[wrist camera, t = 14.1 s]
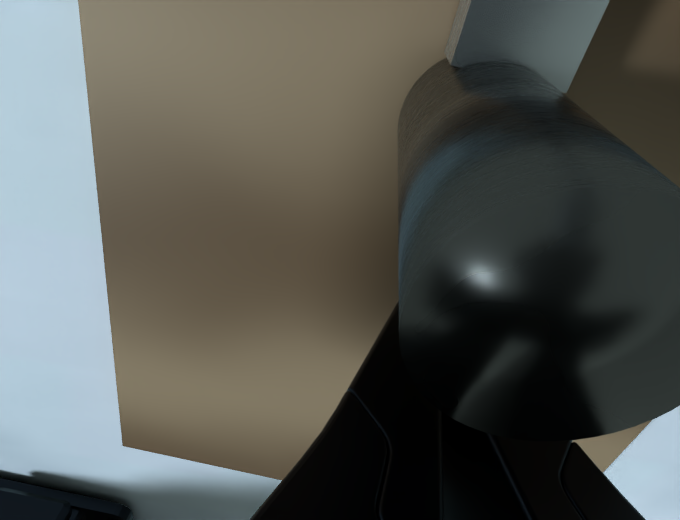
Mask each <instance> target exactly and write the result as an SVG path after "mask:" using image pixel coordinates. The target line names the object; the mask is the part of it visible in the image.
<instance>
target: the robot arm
mask: <svg viewBox="0 0 680 520" xmlns="http://www.w3.org/2000/svg"><path fill="white" fill-rule="evenodd" d="M572 441H573V440H567V441H529V440H518V439H512V438H506V437H501V436H497V435H493V434H489V433H486V432H482V431H479V430H477V429H474V428H471V427H469V426H466V425H464V424H462V423H460V422H458V421H456V420H454V419H452V418H451V417H449V416H448V415H446V414H445V413H443V412H442V411H440V410H439V409H437V408H436V407H435V406H434V405H433V404H432V403H430V402H429V401H428V400H427V399H426V398H425V397H424V396H423V395H422V393H421V392H420V391H419V390H418V389H417V387H416V386H415V384H414V383H413V381H412V380H411V378H410V377H409V375H408V372H407V370H406V368H405V366H404V363H403V359H402V355H401V351H400V343H399V300H398V302H397V304H396V306H395V307H394V309H393V311H392V313H391V314H390V316H389V318H388V320H387V321H386V323H385V325H384V326H383V328H382V330H381V332H380V333H379V335H378V337H377V339H376V340H375V342H374V344H373V346H372V347H371V349H370V351H369V353H368V354H367V356H366V358H365V359H364V361H363V363H362V365H361V366H360V368H359V370H358V372H357V373H356V375H355V377H354V379H353V380H352V382H351V384H350V386H349V387H348V389H347V392H345V394H344V395H343V397H342V399H341V401H340V402H339V404H338V406H337V408H336V409H335V411H334V412H333V414H332V415H331V417H330V419H329V420H328V422H327V423H326V425H325V426H324V428H323V429H322V431H321V432H320V434H319V435H318V436H317V438H316V439H315V440H314V442H313V443H312V444H311V445H310V447H309V448H308V449H307V451H306V452H305V453H304V455H303V456H302V457H301V459H300V460H299V461H298V462H297V463H296V465H295V466H294V467H293V468H292V469H291V471H290V472H289V473H288V474H287V475H286V477H285V478H284V479H283V480H282V481H281V483H280V484H279V485H278V486H277V488H276V489H275V490H274V491H273V492H272V494H271V495H270V496H269V497H268V498H267V500H266V501H265V502H264V503H263V504H262V506H261V507H260V508H259V509H258V510H257V512H256V513H255V514H254V515H253V516H252V518H251V519H250V520H645V518H644V517H643V516H642V515H641V514H640V513H639V512H638V511H637V510H636V509H635V508H634V507H633V506H632V505H631V504H630V503H629V502H628V500H627V499H626V498H625V497H624V496H623V495H622V494H621V493H620V492H619V491H618V489H617V488H616V487H615V486H614V485H613V484H612V483H611V482H610V480H609V479H608V478H607V477H606V476H605V475H604V474H603V472H602V471H601V470H600V469H599V468H598V467H597V466H596V465H595V463H594V462H593V461H592V460H591V459H590V458H589V456H588V455H587V454H586V453H585V452H584V451H583V449H582V448H581V447H580V446H579V445H578V444H577V443H576V442H572ZM0 520H133V514H132V511H131V510H130V509H129V508H128V507H126V506H125V505H122V504H119V503H115V502H110V501H105V500H101V499H96V498H91V497H86V496H82V495H77V494H72V493H68V492H63V491H58V490H54V489H49V488H44V487H39V486H35V485H30V484H25V483H21V482H16V481H11V480H6V479H2V478H0Z"/></svg>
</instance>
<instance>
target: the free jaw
mask: <svg viewBox="0 0 680 520" xmlns="http://www.w3.org/2000/svg"><path fill="white" fill-rule="evenodd" d="M609 1H610V0H460V3H459V6H458V9H457V12H456V16H455V19H454V22H453V25H452V29H451V32H450V35H449V38H448V41H447V45H446V48H445V51H444V53H445V55H446V58H444V59H443V60H441V61H439V62H437V63H436V64H434V65H433V66H432V67H430V68H429V69H428V70H427V71H426V72H425V73H423V74H422V75H421V76H420V78H419V79H418V80H417V81H416V82H415V83H414V85H413V86H412V88H411V89H410V91H409V92H408V94H407V96H406V98H405V100H404V102H403V105H402V108H401V111H400V115H399V120H398V276H399V343H400V351H401V355H402V359H403V363H404V366H405V368H406V370H407V372H408V375H409V377H410V378H411V380H412V381H413V383H414V384H415V386H416V387H417V389H418V390H419V391H420V392H421V393H422V395H423V396H424V397H425V398H426V399H427V400H428V401H429V402H430V403H432V404H433V405H434V406H435V407H436V408H437V409H439V410H440V411H442V412H443V413H445V414H446V415H448V416H449V417H451V418H452V419H454V420H456V421H458V422H460V423H462V424H464V425H466V426H469V427H471V428H474V429H477V430H479V431H482V432H486V433H489V434H493V435H497V436H501V437H506V438H512V439H518V440H529V441H567V440H578V439H585V438H592V437H597V436H602V435H606V434H611V433H615V432H618V431H622V430H625V429H628V428H632V427H635V426H637V425H640V424H642V423H645V422H647V421H650V420H652V419H655V418H657V417H659V416H661V415H663V414H665V413H667V412H669V411H671V410H673V409H674V408H676V407H678V406H679V405H680V188H679V187H678V186H677V185H676V184H674V183H673V182H672V181H671V180H669V179H668V178H667V177H666V176H665V175H663V174H662V173H661V172H660V171H658V170H657V169H656V168H655V167H653V166H652V165H651V164H650V163H648V162H647V161H646V160H645V159H644V158H642V157H641V156H640V155H639V154H637V153H636V152H635V151H634V150H632V149H631V148H630V147H629V146H628V145H626V144H625V143H624V142H623V141H621V140H620V139H619V138H618V137H616V136H615V135H614V134H613V133H611V132H610V131H609V130H608V129H607V128H605V127H604V126H603V125H602V124H600V123H599V122H598V121H597V120H595V119H594V118H593V117H592V116H590V115H589V114H588V113H587V112H586V111H584V110H583V109H582V108H581V107H579V106H578V105H577V104H576V103H574V102H573V101H572V100H571V99H570V98H568V97H567V96H566V95H565V94H563V93H567V91H568V89H569V86H570V84H571V82H572V80H573V78H574V76H575V74H576V71H577V69H578V67H579V65H580V63H581V61H582V59H583V57H584V54H585V52H586V50H587V48H588V46H589V44H590V42H591V39H592V37H593V35H594V33H595V31H596V29H597V27H598V25H599V22H600V20H601V18H602V16H603V14H604V12H605V10H606V7H607V5H608V3H609ZM562 92H563V93H562Z"/></svg>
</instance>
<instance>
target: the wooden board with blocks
mask: <svg viewBox="0 0 680 520" xmlns="http://www.w3.org/2000/svg"><path fill="white" fill-rule="evenodd" d="M459 3H460V0H78V4H79V14H80V24H81V34H82V44H83V53H84V63H85V73H86V83H87V93H88V103H89V113H90V123H91V133H92V143H93V153H94V163H95V173H96V183H97V193H98V203H99V213H100V223H101V233H102V243H103V253H104V263H105V273H106V283H107V293H108V303H109V313H110V323H111V333H112V343H113V353H114V363H115V373H116V383H117V393H118V403H119V413H120V423H121V433H122V443H123V446H126V447H130V448H135V449H140V450H144V451H149V452H154V453H158V454H163V455H167V456H172V457H177V458H181V459H186V460H191V461H195V462H200V463H205V464H209V465H214V466H218V467H223V468H228V469H232V470H237V471H242V472H246V473H251V474H255V475H260V476H265V477H269V478H274V479H279V480H283V479H284V478H285V477H286V475H287V474H288V473H289V472H290V471H291V469H292V468H293V467H294V466H295V465H296V463H297V462H298V461H299V460H300V459H301V457H302V456H303V455H304V453H305V452H306V451H307V449H308V448H309V447H310V445H311V444H312V443H313V442H314V440H315V439H316V438H317V436H318V435H319V434H320V432H321V431H322V429H323V428H324V426H325V425H326V423H327V422H328V420H329V419H330V417H331V415H332V414H333V412H334V411H335V409H336V408H337V406H338V404H339V402H340V401H341V399H342V397H343V395H344V394H345V392H347V389H348V387H349V386H350V384H351V382H352V380H353V379H354V377H355V375H356V373H357V372H358V370H359V368H360V366H361V365H362V363H363V361H364V359H365V358H366V356H367V354H368V353H369V351H370V349H371V347H372V346H373V344H374V342H375V340H376V339H377V337H378V335H379V333H380V332H381V330H382V328H383V326H384V325H385V323H386V321H387V320H388V318H389V316H390V314H391V313H392V311H393V309H394V307H395V306H396V304H397V302H398V300H399V276H398V120H399V115H400V111H401V108H402V105H403V102H404V100H405V98H406V96H407V94H408V92H409V91H410V89H411V88H412V86H413V85H414V83H415V82H416V81H417V80H418V79H419V78H420V76H421V75H422V74H423V73H425V72H426V71H427V70H428V69H429V68H430V67H432V66H433V65H434V64H436V63H437V62H439V61H441V60H443V59H444V58H446V55H445V53H444V51H445V48H446V45H447V41H448V38H449V35H450V32H451V29H452V25H453V22H454V19H455V16H456V12H457V9H458V6H459ZM562 93H563V92H562ZM563 94H565V95H566V96H567V97H568V98H570V99H571V100H572V101H573V102H574V103H576V104H577V105H578V106H579V107H581V108H582V109H583V110H584V111H586V112H587V113H588V114H589V115H590V116H592V117H593V118H594V119H595V120H597V121H598V122H599V123H600V124H602V125H603V126H604V127H605V128H607V129H608V130H609V131H610V132H611V133H613V134H614V135H615V136H616V137H618V138H619V139H620V140H621V141H623V142H624V143H625V144H626V145H628V146H629V147H630V148H631V149H632V150H634V151H635V152H636V153H637V154H639V155H640V156H641V157H642V158H644V159H645V160H646V161H647V162H648V163H650V164H651V165H652V166H653V167H655V168H656V169H657V170H658V171H660V172H661V173H662V174H663V175H665V176H666V177H667V178H668V179H669V180H671V181H672V182H673V183H674V184H676V185H677V186H678V187H679V188H680V0H610V1H609V3H608V5H607V7H606V10H605V12H604V14H603V16H602V18H601V20H600V22H599V25H598V27H597V29H596V31H595V33H594V35H593V37H592V39H591V42H590V44H589V46H588V48H587V50H586V52H585V54H584V57H583V59H582V61H581V63H580V65H579V67H578V69H577V71H576V74H575V76H574V78H573V80H572V82H571V84H570V86H569V89H568V91H567V93H563ZM650 422H651V420H650V421H647V422H645V423H642V424H640V425H637V426H635V427H632V428H628V429H625V430H622V431H618V432H615V433H611V434H606V435H602V436H597V437H592V438H585V439H578V440H573V441H572V442H576V443H577V444H578V445H579V446H580V447H581V448H582V449H583V451H584V452H585V453H586V454H587V455H588V456H589V458H590V459H591V460H592V461H593V462H594V463H595V465H596V466H597V467H598V468H599V469H600V470H601V471H602V472H604V471H605V470H606V469H607V468H608V467H609V465H610V464H611V463H612V462H613V461H614V460H615V459H616V458H617V457H618V456H619V455H620V454H621V453H622V452H623V450H624V449H625V448H626V447H627V446H628V445H629V444H630V443H631V442H632V441H633V440H634V439H635V438H636V437H637V435H638V434H639V433H640V432H641V431H642V430H643V429H644V428H645V427H646V426H647V425H648V424H649V423H650Z"/></svg>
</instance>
